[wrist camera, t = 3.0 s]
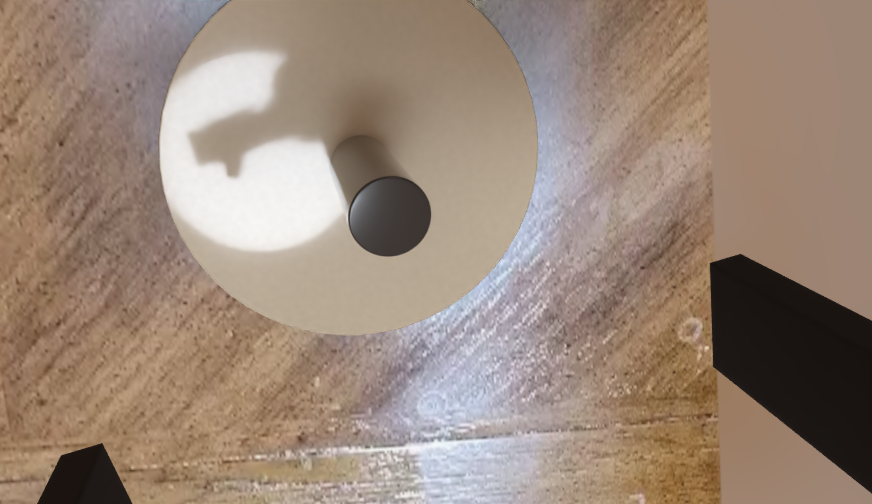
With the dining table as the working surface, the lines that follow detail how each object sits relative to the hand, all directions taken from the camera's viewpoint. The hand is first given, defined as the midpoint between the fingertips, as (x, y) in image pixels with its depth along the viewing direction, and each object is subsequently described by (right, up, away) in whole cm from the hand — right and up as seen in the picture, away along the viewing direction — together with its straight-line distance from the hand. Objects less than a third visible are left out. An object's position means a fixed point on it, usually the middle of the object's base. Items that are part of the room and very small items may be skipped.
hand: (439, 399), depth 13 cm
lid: (-4, +7, +15) cm, 17 cm away
